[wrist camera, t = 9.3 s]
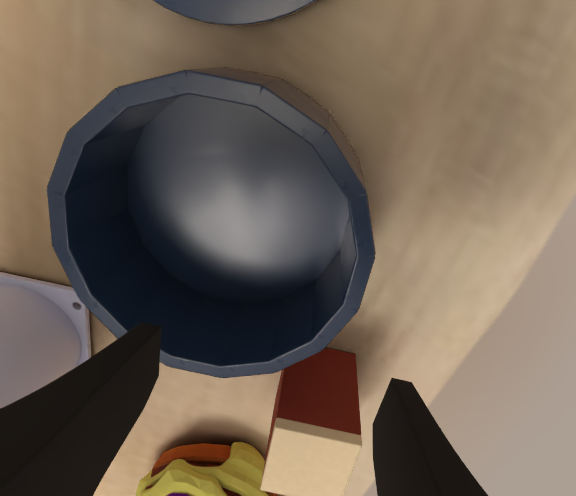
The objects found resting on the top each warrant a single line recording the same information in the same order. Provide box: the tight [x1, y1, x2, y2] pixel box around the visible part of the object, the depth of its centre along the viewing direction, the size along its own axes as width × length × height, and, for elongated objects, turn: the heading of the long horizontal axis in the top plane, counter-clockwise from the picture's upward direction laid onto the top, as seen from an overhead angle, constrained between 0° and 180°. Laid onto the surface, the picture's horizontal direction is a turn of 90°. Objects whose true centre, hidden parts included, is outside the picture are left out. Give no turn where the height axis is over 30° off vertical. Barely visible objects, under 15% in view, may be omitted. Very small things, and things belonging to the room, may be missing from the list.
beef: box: [260, 348, 362, 496], centre depth 22 cm, size 5×4×6 cm
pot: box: [47, 67, 376, 378], centre depth 18 cm, size 12×12×6 cm
